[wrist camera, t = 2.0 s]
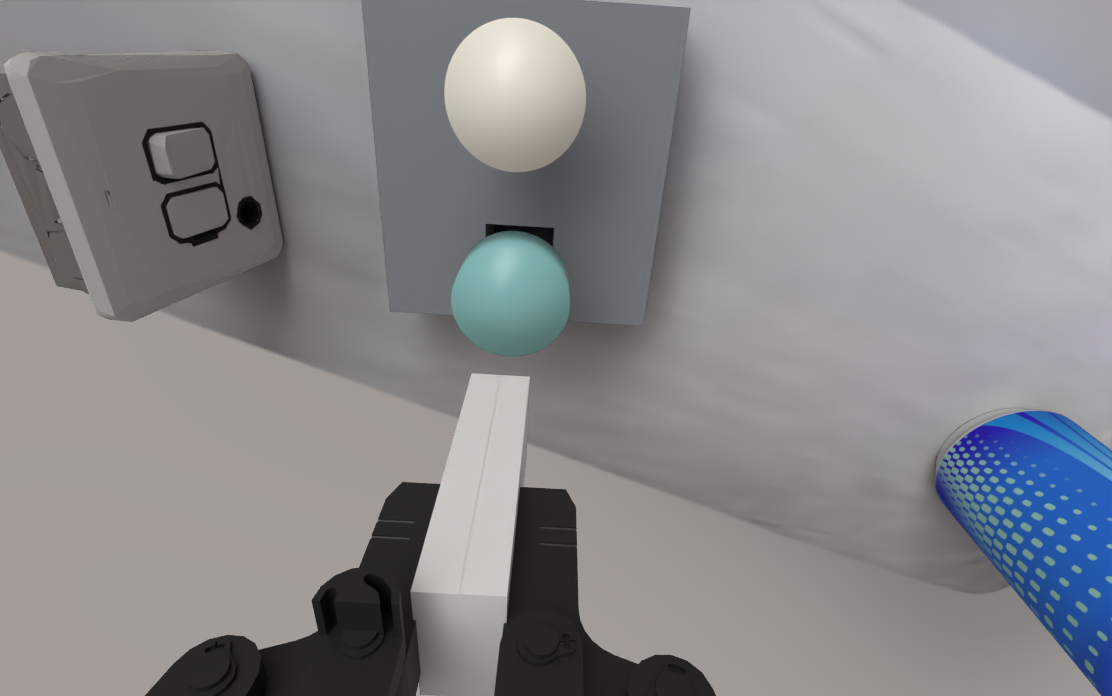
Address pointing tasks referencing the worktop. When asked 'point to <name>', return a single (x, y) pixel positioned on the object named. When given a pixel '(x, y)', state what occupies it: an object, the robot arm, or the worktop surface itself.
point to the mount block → (534, 196)
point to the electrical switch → (140, 172)
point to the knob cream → (515, 94)
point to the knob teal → (511, 294)
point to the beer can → (1040, 521)
